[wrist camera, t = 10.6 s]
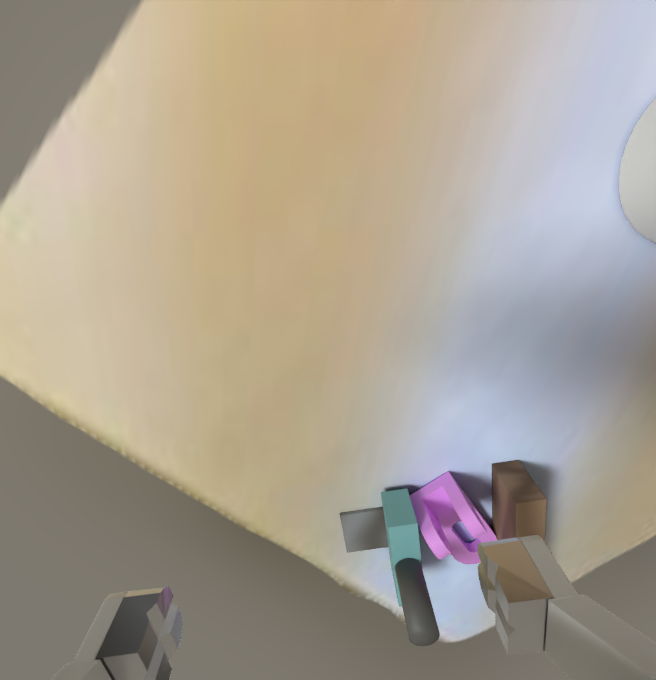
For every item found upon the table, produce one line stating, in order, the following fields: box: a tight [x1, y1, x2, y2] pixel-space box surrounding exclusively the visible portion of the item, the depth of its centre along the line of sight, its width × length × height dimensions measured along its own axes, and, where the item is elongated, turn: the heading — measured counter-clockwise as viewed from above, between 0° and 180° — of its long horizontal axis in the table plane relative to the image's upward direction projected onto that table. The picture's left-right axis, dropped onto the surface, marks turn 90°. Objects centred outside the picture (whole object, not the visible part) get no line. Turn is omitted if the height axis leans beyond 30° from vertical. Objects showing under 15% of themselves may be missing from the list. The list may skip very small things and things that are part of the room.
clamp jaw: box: [381, 488, 439, 646], centre depth 42 cm, size 3×12×12 cm, turn 9°
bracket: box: [410, 471, 497, 564], centre depth 45 cm, size 13×6×7 cm, turn 35°
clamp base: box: [340, 460, 547, 552], centre depth 46 cm, size 21×14×6 cm, turn 99°
